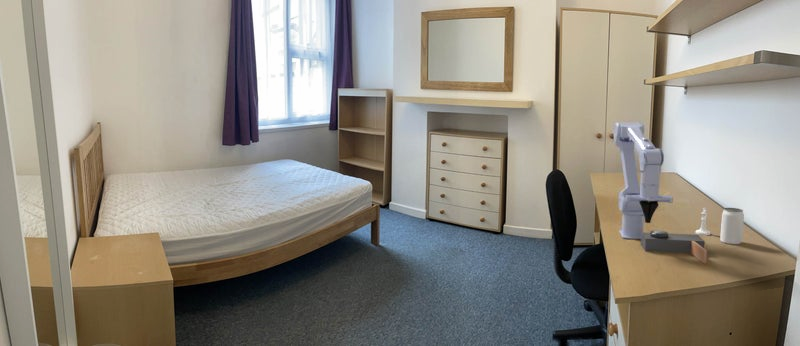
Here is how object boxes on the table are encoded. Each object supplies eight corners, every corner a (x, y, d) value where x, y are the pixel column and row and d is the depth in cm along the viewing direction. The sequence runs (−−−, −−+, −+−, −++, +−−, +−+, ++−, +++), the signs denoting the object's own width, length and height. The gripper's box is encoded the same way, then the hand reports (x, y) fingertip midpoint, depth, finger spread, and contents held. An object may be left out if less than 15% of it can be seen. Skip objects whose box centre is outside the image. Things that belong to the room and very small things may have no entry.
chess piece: (705, 231, 191) (707, 205, 190) (713, 234, 187) (715, 209, 185) (692, 231, 191) (694, 206, 190) (700, 235, 186) (702, 209, 185)
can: (721, 238, 182) (723, 206, 180) (742, 241, 178) (745, 208, 176) (718, 242, 177) (721, 210, 175) (740, 246, 173) (743, 212, 171)
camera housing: (640, 244, 178) (641, 228, 177) (696, 247, 174) (698, 230, 173) (645, 251, 171) (646, 234, 170) (703, 254, 167) (705, 236, 166)
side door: (703, 263, 158) (704, 250, 157) (690, 252, 167) (691, 240, 167) (708, 263, 157) (709, 250, 157) (695, 253, 167) (696, 241, 166)
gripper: (628, 185, 168) (626, 224, 171) (676, 186, 165) (673, 226, 167) (625, 181, 175) (623, 219, 178) (670, 182, 171) (668, 220, 174)
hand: (647, 222), depth 173 cm, fingers closed
